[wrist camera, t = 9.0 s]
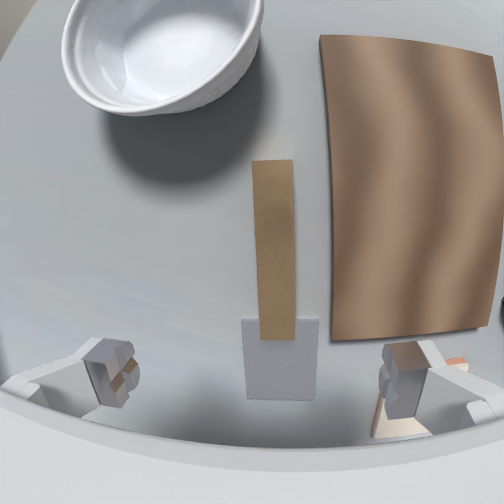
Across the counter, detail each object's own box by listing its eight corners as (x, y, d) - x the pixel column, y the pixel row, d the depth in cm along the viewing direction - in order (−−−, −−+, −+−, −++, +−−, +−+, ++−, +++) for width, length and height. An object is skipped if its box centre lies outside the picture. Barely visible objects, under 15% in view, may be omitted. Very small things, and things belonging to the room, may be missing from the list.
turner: (232, 163, 23) (222, 163, 19) (317, 159, 22) (321, 159, 19) (247, 394, 28) (242, 419, 25) (314, 395, 27) (314, 420, 24)
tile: (374, 438, 26) (446, 428, 25) (388, 376, 24) (468, 366, 23) (371, 425, 28) (440, 416, 27) (384, 363, 26) (460, 354, 25)
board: (330, 330, 25) (332, 340, 24) (319, 42, 19) (320, 34, 18) (479, 318, 23) (487, 325, 22) (483, 60, 17) (492, 56, 16)
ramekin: (154, 159, 23) (106, 160, 17) (88, 44, 21) (38, 23, 15) (306, 63, 20) (310, 26, 13) (215, -44, 18) (192, -91, 11)
